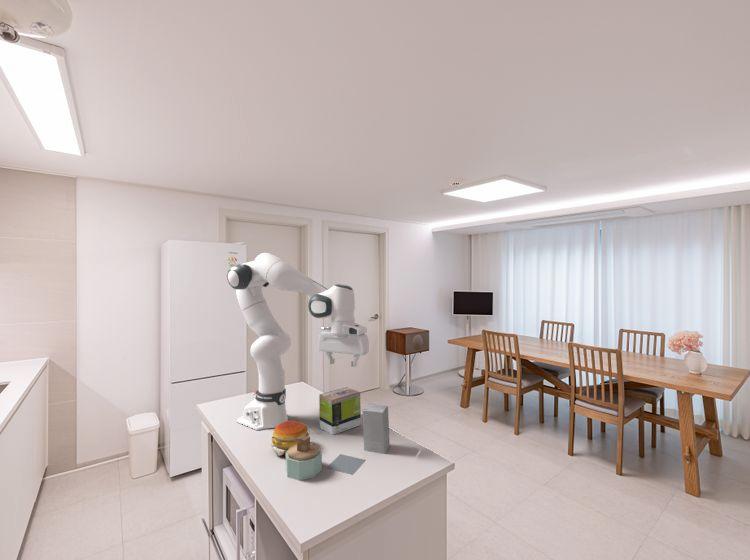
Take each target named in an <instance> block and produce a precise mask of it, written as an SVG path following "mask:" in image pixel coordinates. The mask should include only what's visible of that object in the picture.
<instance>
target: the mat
mask: <svg viewBox="0 0 750 560" xmlns="http://www.w3.org/2000/svg"><path fill="white" fill-rule="evenodd" d="M366 461H367V460H366V459H364V458H360V457H355V456H350V455H346V454H343V453H339V454H338V456H337V457H336V458H335V459H334V460H332V461H331V463H329V464H328V465H327V466H325V469H329V470H333V471H336V472H340V473H344V474H347V475H352V476H353V475H354V474H355V473H356V472H357V471H358V470H359V469H360V467H361V466H362V465H363V464H364V463H365V462H366Z"/></svg>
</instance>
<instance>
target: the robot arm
mask: <svg viewBox="0 0 750 560" xmlns="http://www.w3.org/2000/svg"><path fill="white" fill-rule="evenodd" d="M226 278H227V282H228V284H229V286H230V287H231V288H233V290H235V294H236V299H237V302H238V305H239V308H240V311H241V313H242V315H243V317H244V318H243V319H244V320H245V322H246V324H247V326H248V328H249V329H250V330H252V331H253V332H254V333H255V334H256V335H257V336H258V338H256V340H255V341H254V342H253V343H252V344H251V346H250V350H249V351H250V356H251V357H252V359H253V360H254V361H255V364H256V366H257V367H256V368H257V373H258V389H257V390H256V391H254V392H253V396H254V395H255V397H254V399H253V400H250V402H249V403H248V404H247V405H245V406H244V408H243V412H242V415H241V416H239V417H237V419H236V423H237V422H238V424H240V425H242V424H243V426H246V427H247V426H248V428H250V429H252V428H253V430H256V431H260V430H265V429H275V428H276V427H277V426H278V425H279V424H281V423H283V422H286V421H289V418H288V417H289V416H288V413H287V407H286V399H287V397H286V396H287V395H286V394H287V393H286V384H285V383H286V382H285V381H286V380H285V379H286V373H285V369H284V368H283V367H282V361H281V356H282V355H284V354H285V353H286V352H287V351H288V350H289V349H290V347H291V345H292V338H291V336H290V335H289V334H288V333H287V332H285V331H284V330H283V328H282V327H281V325H280V324H279V323H278V322H277V320H276V319H275V317H274V316H273V314H272V311H271V309H270V308H269V305H268V303H267V301H266V299H265V297H264V295H263V292H262V291H263V290H262V288H263V287H265V288H267V287H268V286H269V285H271V287H273V288H276V289H278V290H280V291H286V292H298V293H303V294H305V295H307V296H310V298H309V300H308V303H307V304H308V305H307V306H308V311H309V313H310V315H311V316H312V317H314V318H316V319H326V318H330V326H322V327H321V328H320V329H319V330H318V339H317V341H318V342H317V349H318V351H319V352H324V353H325V354H326V357H327V359H328V364H329V365H334V364H335V361H336V359H335V358H333V355H332V354H333V353H335V354H346V355H353V358H354V360H351V362H350V366H351V367H354V368H355V367H357V365H358V360H359V359H360V357H361V356H366V355H367V354H369V351H370V343H369V337H368V335H367V333H368V329H367V327H366V326H363V325H361V324H358V323H356V321H355V319H356V318H355V315H354V314H355V311H356V310H355V309H356V303H355V302H356V298H355V291H354V289H353V288H352V286H350V285H346V284H339V283H337V284H333V285H332V287H330V288H327V287H326V286H323V285H322V284H321V283H319V282H317V281H315V280H313V279H311V278H310V277H309V276H306V275H305V274H304V273H303V272H301V271H299V270H298V269H296V268H295V267H294V266H292V265H291V264H289V263H288V262H287V261H285V260H284V259H282V258H280V257H279V256H277V255H274V254H272V253H269V252H262V253H260V254H258V255H257V256H256V258H255V259H254V260H251V261H248V262H247V261H246V262H244V263H241V264H240V263H239V264H236V265H233V266H231V267H229V269H228V271H227V274H226Z"/></svg>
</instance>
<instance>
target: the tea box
mask: <svg viewBox="0 0 750 560" xmlns="http://www.w3.org/2000/svg"><path fill="white" fill-rule="evenodd" d="M318 399H319V400H318V401H319V404H318V405H319V428H320V429H321V430H322V431H325V432H327V433H329V434H330V435H332V436H333V435H336V434H340V433H343V432H345V431H348V430H350V429H353V428H357V427H361V426H362V423H361V421H362V420H361V419H362V418H361V414H362V413H361V392H360V391H358V390H356V389H354V388H353V389H352V388H349V387H348V386H345V387H343V388H339V389H335V390H331V391H328V392H323V393H320V394H319V397H318Z"/></svg>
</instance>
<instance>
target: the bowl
mask: <svg viewBox="0 0 750 560" xmlns="http://www.w3.org/2000/svg"><path fill="white" fill-rule="evenodd" d="M322 455H323V452H322V450H321V448H320V447H319V453H318V455H317V456H316V457H314V458H312V459H308V460H293V459H291V458H290V457H289V456H288V451H287V452H286V455H285V472H286V477H287V478H289V479H293V480H297V481H303V480H308V479H312V478H315V477H316V476H317V475H319V473H320V472H321V471H322V470H323V467H322V466H323V464H322V463H323V462H322V461H323V456H322Z"/></svg>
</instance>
